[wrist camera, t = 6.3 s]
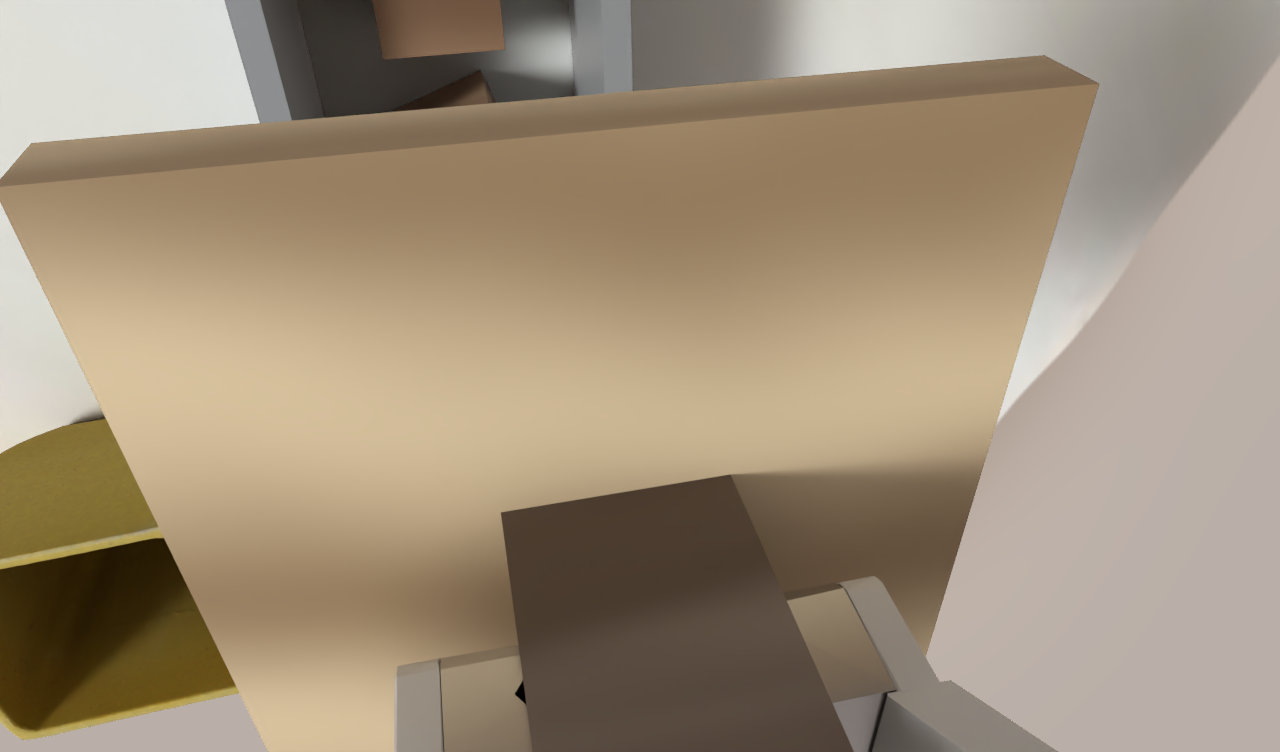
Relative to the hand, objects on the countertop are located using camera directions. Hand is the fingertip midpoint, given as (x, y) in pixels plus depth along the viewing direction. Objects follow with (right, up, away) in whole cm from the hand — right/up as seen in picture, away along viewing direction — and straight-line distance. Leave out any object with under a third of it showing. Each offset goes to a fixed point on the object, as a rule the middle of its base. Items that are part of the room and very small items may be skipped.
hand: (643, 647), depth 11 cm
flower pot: (-20, 0, +25) cm, 32 cm away
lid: (-1, +2, +3) cm, 4 cm away
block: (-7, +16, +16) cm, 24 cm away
